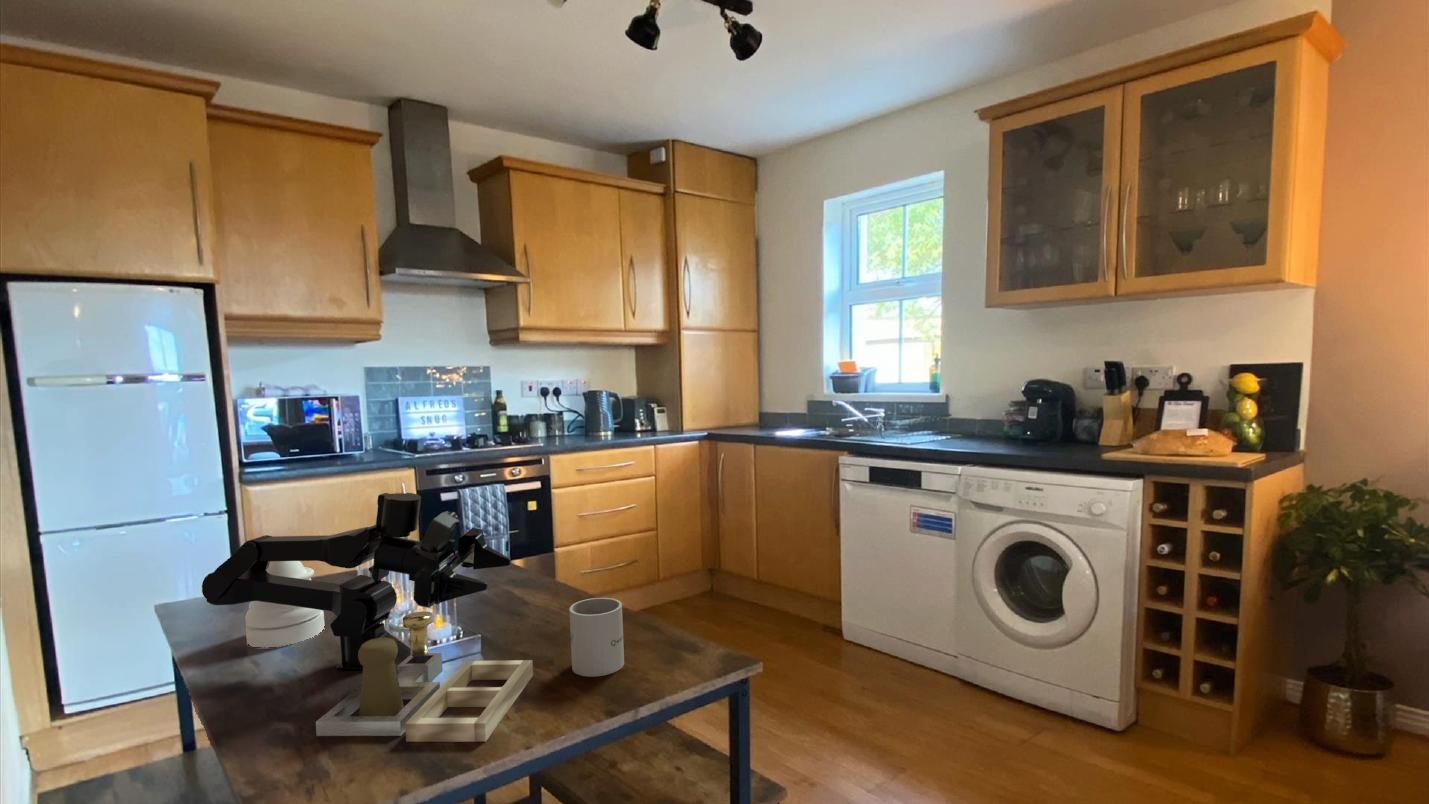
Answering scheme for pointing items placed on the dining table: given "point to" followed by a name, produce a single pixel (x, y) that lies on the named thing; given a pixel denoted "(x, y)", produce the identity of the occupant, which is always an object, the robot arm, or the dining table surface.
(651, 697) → the dining table surface
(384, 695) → the cork
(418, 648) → the release key
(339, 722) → the socket block
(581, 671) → the mug
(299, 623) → the honey pot
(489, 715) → the rack
